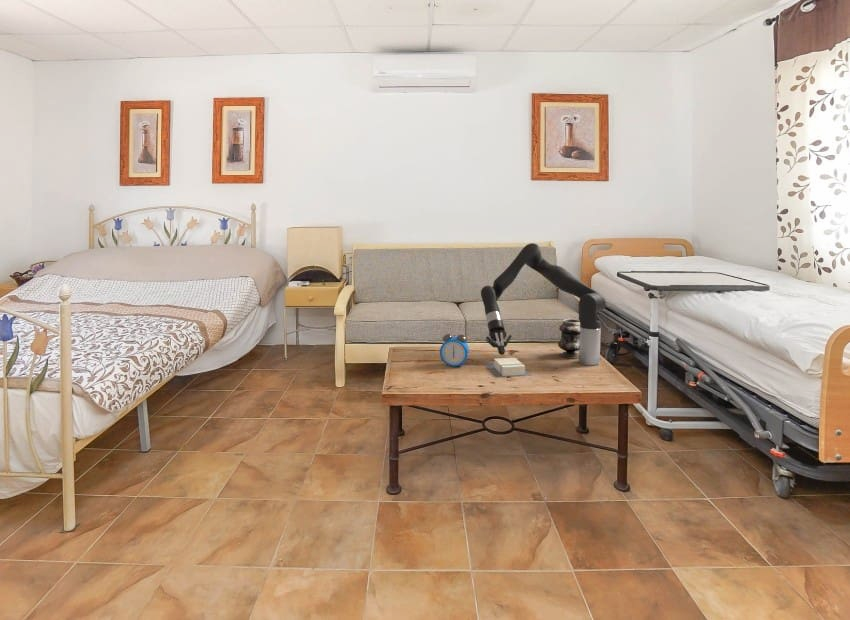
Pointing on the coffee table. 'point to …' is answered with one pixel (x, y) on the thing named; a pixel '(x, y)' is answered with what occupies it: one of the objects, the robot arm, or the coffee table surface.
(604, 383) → the coffee table surface
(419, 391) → the coffee table surface
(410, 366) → the coffee table surface
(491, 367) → the mat
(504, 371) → the box
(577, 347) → the apothecary jar
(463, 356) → the alarm clock
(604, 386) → the coffee table surface
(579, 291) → the robot arm
